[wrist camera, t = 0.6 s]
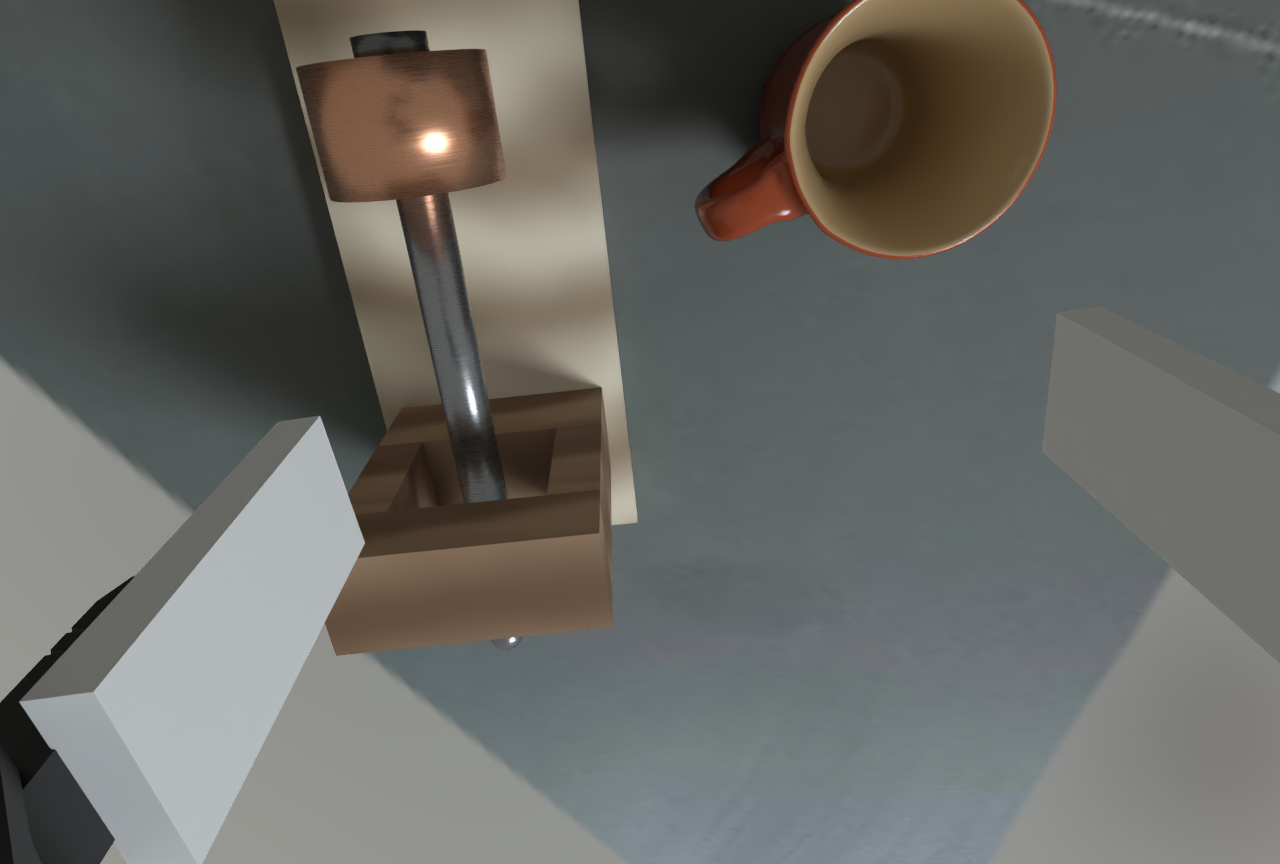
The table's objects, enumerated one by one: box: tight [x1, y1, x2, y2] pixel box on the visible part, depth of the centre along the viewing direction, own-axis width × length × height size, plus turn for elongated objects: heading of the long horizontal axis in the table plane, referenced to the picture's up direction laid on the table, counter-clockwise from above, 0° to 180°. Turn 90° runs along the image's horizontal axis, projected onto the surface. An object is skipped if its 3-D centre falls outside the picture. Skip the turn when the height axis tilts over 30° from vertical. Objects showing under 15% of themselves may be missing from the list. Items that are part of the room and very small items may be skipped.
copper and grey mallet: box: [296, 30, 522, 650], centre depth 29 cm, size 24×6×6 cm, turn 5°
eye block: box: [325, 387, 613, 655], centre depth 32 cm, size 4×10×13 cm, turn 96°
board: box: [274, 0, 638, 525], centre depth 36 cm, size 26×12×1 cm, turn 5°
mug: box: [695, 0, 1057, 259], centre depth 29 cm, size 12×9×10 cm
